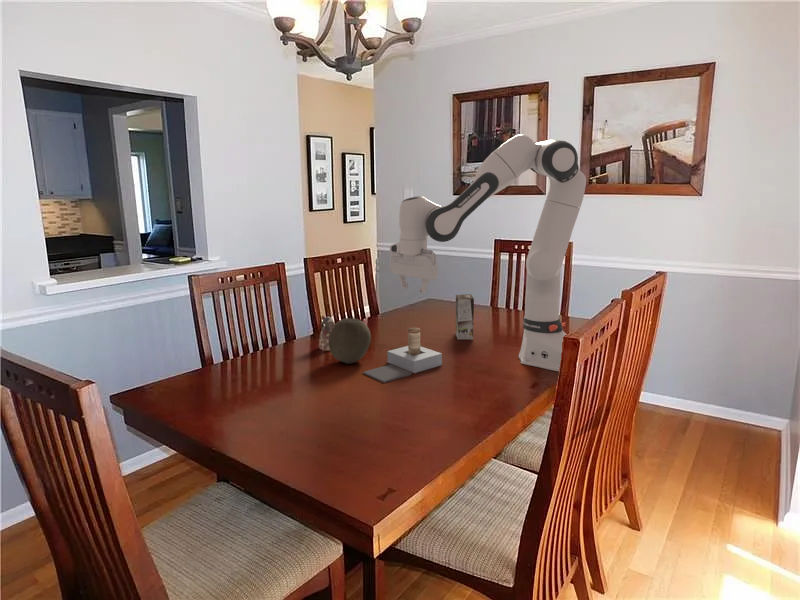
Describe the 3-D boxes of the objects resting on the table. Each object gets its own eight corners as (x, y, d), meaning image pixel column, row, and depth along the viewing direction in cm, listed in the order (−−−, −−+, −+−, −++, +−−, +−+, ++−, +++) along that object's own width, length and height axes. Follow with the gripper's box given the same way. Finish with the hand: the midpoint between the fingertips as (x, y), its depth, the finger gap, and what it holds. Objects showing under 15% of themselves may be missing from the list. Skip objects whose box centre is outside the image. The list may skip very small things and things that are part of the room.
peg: (423, 363, 179) (422, 329, 177) (413, 366, 177) (413, 331, 174) (415, 360, 183) (414, 326, 180) (405, 363, 180) (405, 329, 178)
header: (441, 364, 178) (441, 353, 177) (414, 373, 171) (414, 361, 170) (414, 355, 189) (414, 344, 188) (387, 362, 181) (387, 351, 181)
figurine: (328, 351, 194) (327, 319, 192) (315, 348, 198) (313, 317, 196) (342, 346, 200) (341, 315, 197) (328, 343, 204) (327, 313, 201)
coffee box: (473, 339, 206) (474, 298, 203) (457, 339, 207) (457, 298, 203) (471, 333, 215) (471, 293, 212) (455, 333, 215) (455, 294, 212)
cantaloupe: (365, 369, 175) (363, 325, 171) (324, 367, 177) (321, 323, 174) (375, 356, 188) (374, 314, 185) (337, 354, 191) (335, 313, 188)
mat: (411, 374, 169) (411, 372, 169) (384, 383, 163) (384, 381, 163) (390, 366, 178) (390, 364, 178) (363, 373, 171) (363, 371, 171)
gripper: (442, 249, 166) (442, 293, 168) (401, 244, 181) (401, 284, 184) (427, 251, 162) (427, 296, 165) (386, 246, 177) (387, 287, 180)
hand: (413, 290), depth 174 cm, fingers open, 8 cm apart
